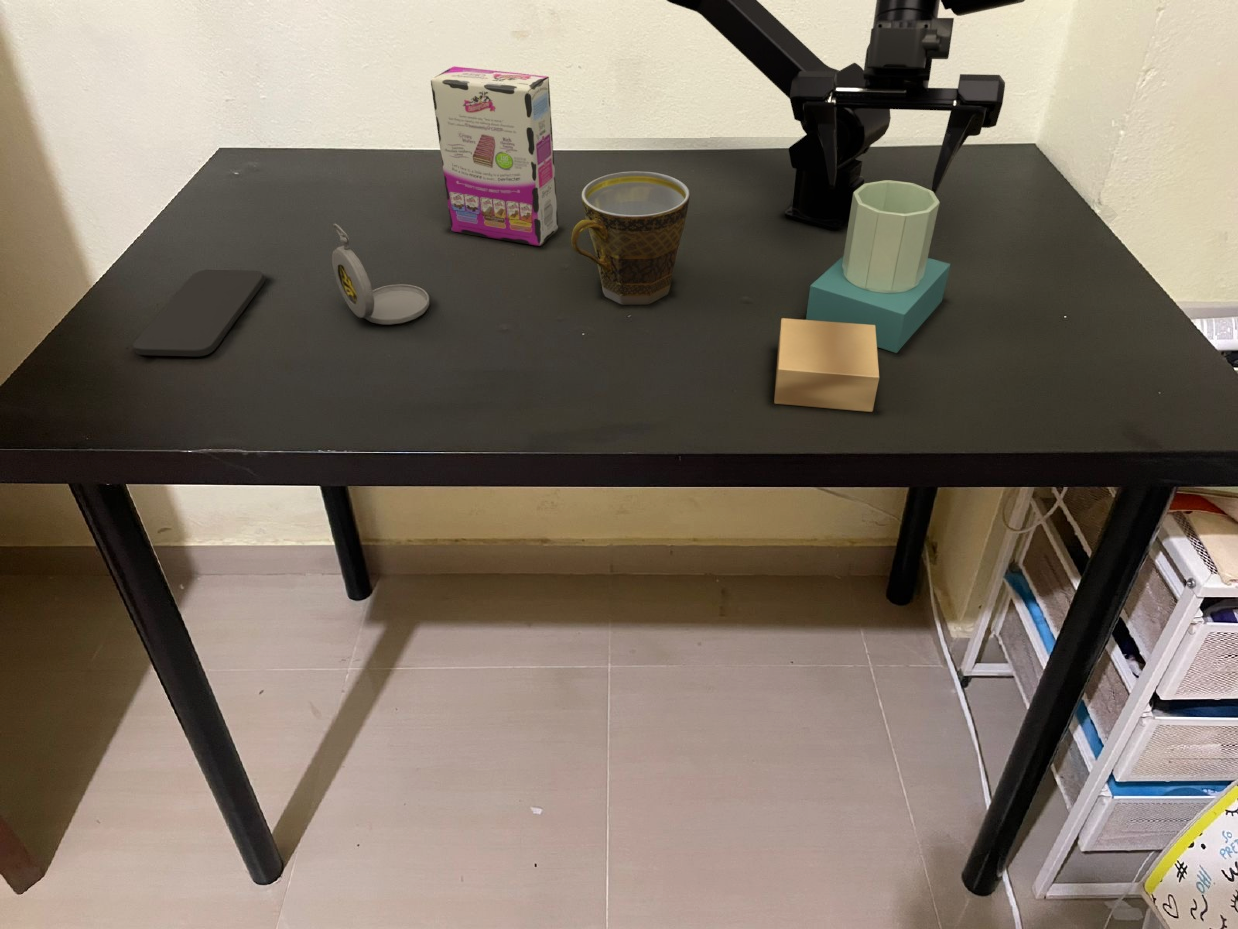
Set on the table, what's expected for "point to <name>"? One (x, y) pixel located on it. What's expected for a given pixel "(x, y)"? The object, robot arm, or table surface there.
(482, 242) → the table surface
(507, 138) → the candy bar box
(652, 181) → the ceramic cup
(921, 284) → the box
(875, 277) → the pale green faceted cup
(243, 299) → the phone
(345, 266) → the pocket watch
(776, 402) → the tan block
